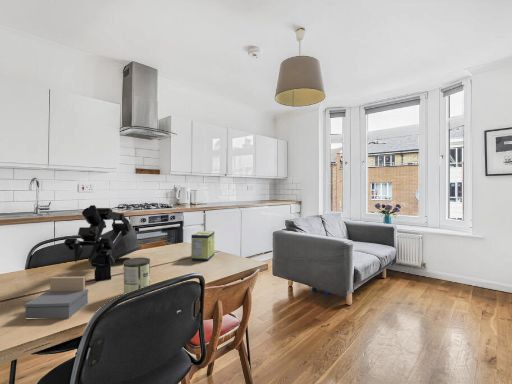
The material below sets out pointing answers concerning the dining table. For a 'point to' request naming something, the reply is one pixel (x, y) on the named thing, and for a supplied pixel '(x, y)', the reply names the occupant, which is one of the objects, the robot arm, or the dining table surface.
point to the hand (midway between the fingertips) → (82, 261)
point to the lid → (60, 292)
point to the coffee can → (136, 274)
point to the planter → (124, 243)
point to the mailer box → (57, 310)
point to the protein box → (202, 245)
